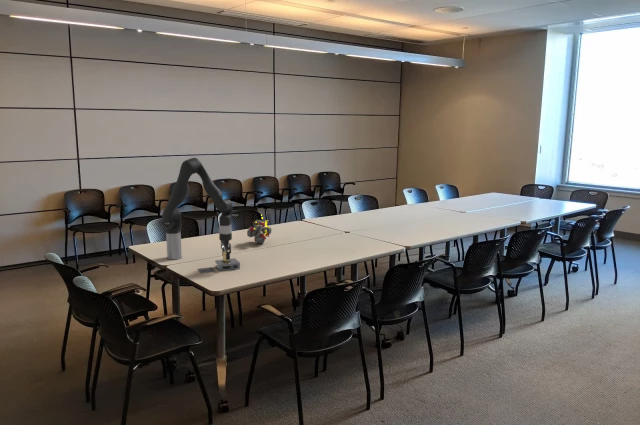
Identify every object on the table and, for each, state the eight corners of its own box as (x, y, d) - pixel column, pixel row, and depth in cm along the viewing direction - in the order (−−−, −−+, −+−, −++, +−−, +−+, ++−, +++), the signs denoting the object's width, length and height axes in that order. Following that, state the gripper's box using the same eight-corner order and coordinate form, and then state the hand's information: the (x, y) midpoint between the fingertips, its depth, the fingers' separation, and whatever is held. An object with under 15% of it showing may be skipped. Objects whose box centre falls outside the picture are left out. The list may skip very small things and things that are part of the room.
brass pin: (222, 267, 311) (222, 250, 309) (228, 267, 313) (227, 250, 311) (224, 269, 308) (223, 252, 306) (229, 268, 310) (229, 251, 308)
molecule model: (276, 246, 365) (276, 216, 361) (247, 248, 360) (247, 217, 356) (271, 239, 389) (271, 210, 385) (244, 240, 384) (243, 211, 380)
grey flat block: (215, 267, 313) (215, 260, 312) (234, 264, 318) (234, 258, 317) (219, 271, 303) (219, 264, 302) (240, 269, 308) (239, 262, 308)
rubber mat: (196, 269, 307) (196, 268, 307) (211, 267, 311) (211, 267, 311) (200, 273, 299) (200, 273, 298) (215, 272, 302) (215, 271, 302)
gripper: (216, 230, 311) (217, 255, 314) (222, 235, 298) (223, 261, 301) (228, 229, 314) (228, 254, 317) (234, 233, 302) (235, 260, 304)
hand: (226, 257), depth 309 cm, fingers open, 8 cm apart
